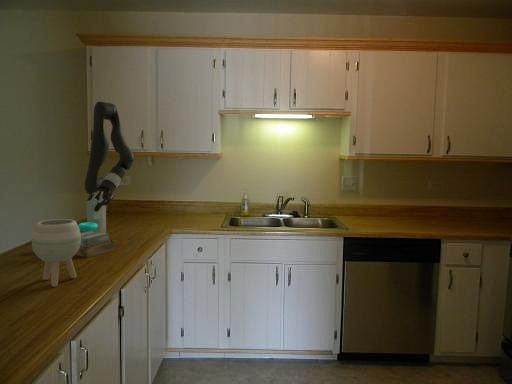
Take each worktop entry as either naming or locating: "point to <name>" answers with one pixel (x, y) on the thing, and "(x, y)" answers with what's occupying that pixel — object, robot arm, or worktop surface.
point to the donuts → (87, 226)
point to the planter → (56, 246)
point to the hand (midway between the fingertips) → (91, 210)
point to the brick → (92, 210)
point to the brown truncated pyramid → (94, 244)
